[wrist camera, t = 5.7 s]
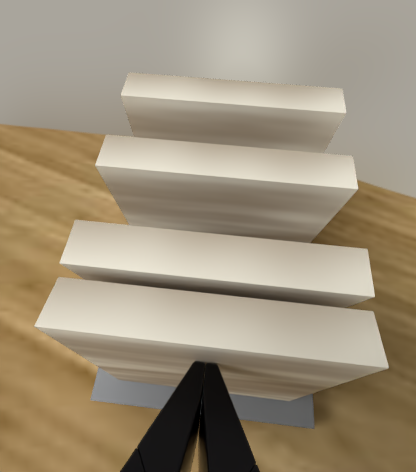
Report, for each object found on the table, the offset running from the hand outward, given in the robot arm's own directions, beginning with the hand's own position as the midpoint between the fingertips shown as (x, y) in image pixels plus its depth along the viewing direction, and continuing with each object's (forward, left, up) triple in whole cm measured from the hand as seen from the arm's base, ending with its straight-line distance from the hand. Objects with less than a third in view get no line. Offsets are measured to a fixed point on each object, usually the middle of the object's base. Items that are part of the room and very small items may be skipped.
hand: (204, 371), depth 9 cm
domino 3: (+6, -4, -8) cm, 11 cm away
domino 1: (0, 0, -8) cm, 8 cm away
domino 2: (+3, -2, -8) cm, 8 cm away
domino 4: (+9, -7, -8) cm, 14 cm away
